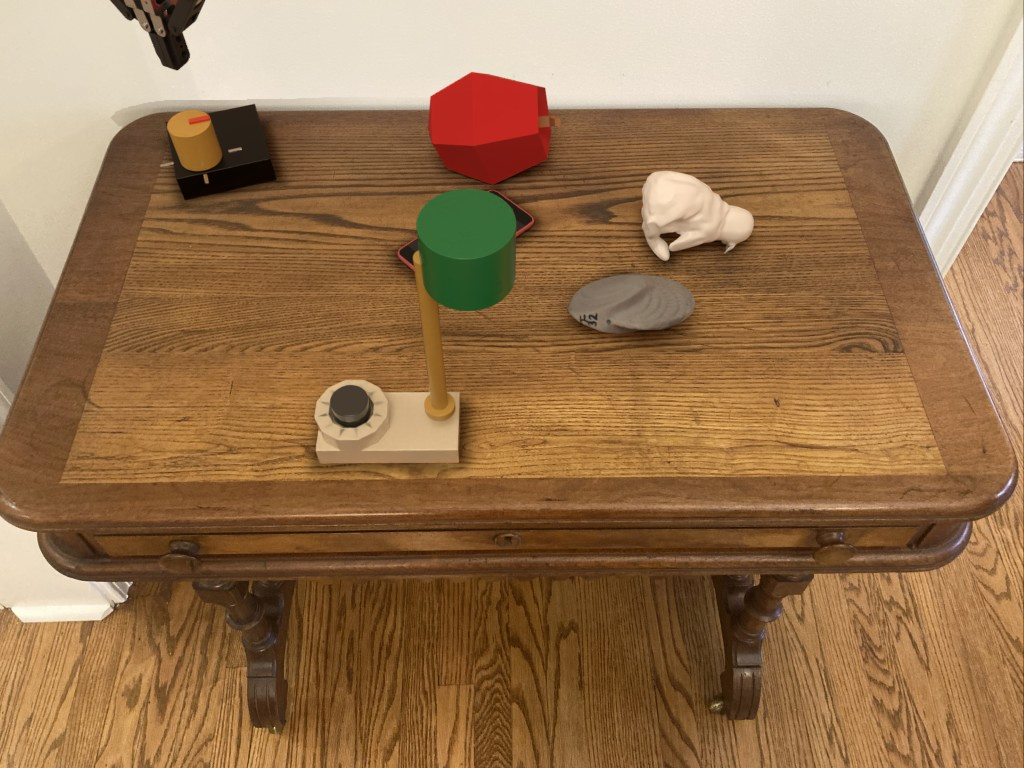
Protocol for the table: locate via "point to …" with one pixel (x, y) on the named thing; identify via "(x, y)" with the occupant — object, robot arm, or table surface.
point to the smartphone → (522, 216)
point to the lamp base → (388, 430)
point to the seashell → (631, 303)
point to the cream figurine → (689, 214)
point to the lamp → (460, 271)
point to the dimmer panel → (229, 156)
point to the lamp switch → (350, 406)
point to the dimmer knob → (195, 140)
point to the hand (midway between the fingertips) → (176, 63)
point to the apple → (490, 126)
